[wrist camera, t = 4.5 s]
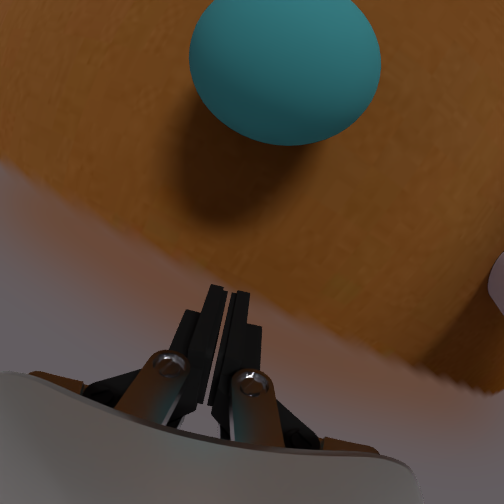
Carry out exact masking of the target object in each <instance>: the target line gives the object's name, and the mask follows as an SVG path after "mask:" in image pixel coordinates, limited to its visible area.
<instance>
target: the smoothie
mask: <svg viewBox="0 0 504 504" xmlns="http://www.w3.org/2000/svg"><path fill="white" fill-rule="evenodd" d="M488 292H489V295H490V296H491V298H492V299H493V301H494V302H495V303H496V305H497V306H498V308H499V309H500V311H501V312H502V314H503V315H504V252H503V253H502V254H501V255H500V256H499V258H498V259H497V260H496V262H495V264H494V266H493V268H492V270H491V273H490V276H489V280H488Z"/></svg>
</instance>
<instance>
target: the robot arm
mask: <svg viewBox="0 0 504 504" xmlns="http://www.w3.org/2000/svg"><path fill="white" fill-rule="evenodd" d="M223 288H224V287H221V286H217V285H213V284H211V286H210V288H209V291H208V294H207V297H206V300H205V303H204V306H203V308H202V311H201V313H199V312H195V311H191V310H186V311H185V313H184V315H183V317H182V320H181V322H180V324H179V327H178V329H177V331H176V334H175V336H174V339H173V341H172V344H171V346H170V348H169V350H162V351H158V352H156V353H154V354H153V355H152V356H151V357H150V358H149V360H148V361H147V362H146V364H145V365H144V367H143V368H142V369H139V370H136V371H133V372H129V373H126V374H123V375H119V376H116V377H113V378H109V379H105V380H102V381H98V382H95V383H92V384H91V385H85V384H84V383H83V381H78V380H73V379H69V378H65V377H60V376H57V375H52V374H49V373H45V372H41V371H34V372H30V373H29V374H24V373H18V372H12V371H3V372H0V504H425V503H424V498H423V495H422V492H421V488H420V486H419V483H418V481H417V479H416V476H415V474H414V473H413V471H412V470H411V469H410V467H409V466H407V465H406V464H405V463H403V462H401V461H399V460H396V459H394V458H391V457H387V456H384V455H380V454H379V452H378V451H377V450H376V449H374V448H373V447H370V446H366V445H361V444H356V443H351V442H346V441H342V440H337V439H333V438H328V437H325V438H323V439H322V438H318V437H317V436H316V435H315V433H314V432H313V431H312V430H310V429H309V428H308V427H307V426H306V425H305V424H304V423H302V422H301V421H300V420H299V419H298V418H297V417H295V416H294V415H293V414H292V413H291V412H290V411H289V410H287V408H285V407H284V406H283V405H282V404H281V403H280V402H279V401H278V400H277V399H276V397H275V391H274V386H273V383H272V381H271V379H270V378H269V377H268V376H267V375H266V374H265V373H263V372H261V371H260V358H261V339H262V327H261V326H257V325H251V324H247V316H248V307H249V299H250V293H248V292H243V291H239V290H238V291H237V293H232V294H231V299H230V303H229V307H228V312H227V316H226V321H225V325H224V330H223V335H222V339H221V343H220V348H219V352H218V357H217V361H216V366H215V371H214V376H213V380H212V385H211V390H210V395H209V399H208V404H207V405H208V406H212V411H211V414H212V416H213V417H214V418H215V419H216V421H217V422H218V438H214V437H209V436H205V435H200V434H195V433H191V432H187V431H183V430H179V429H180V427H181V425H182V422H183V420H184V417H185V415H186V414H189V413H191V412H193V411H195V410H196V407H197V403H200V404H203V401H204V396H205V392H206V388H207V383H208V379H209V374H210V370H211V366H212V361H213V357H214V353H215V349H216V344H217V339H218V335H219V330H220V326H221V321H222V316H223V312H224V307H225V302H226V298H227V293H228V291H224V290H223Z"/></svg>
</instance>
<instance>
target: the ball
mask: <svg viewBox="0 0 504 504" xmlns="http://www.w3.org/2000/svg"><path fill="white" fill-rule="evenodd" d="M189 63H190V71H191V75H192V79H193V82H194V85H195V87H196V90H197V92H198V94H199V96H200V97H201V99H202V101H203V102H204V104H205V105H206V106H207V108H208V109H209V110H210V111H211V113H213V114H214V115H215V116H216V117H217V118H218V119H219V120H220V121H221V122H223V123H224V124H225V125H227V126H228V127H229V128H231V129H232V130H234V131H236V132H238V133H239V134H241V135H243V136H246V137H248V138H250V139H253V140H256V141H260V142H263V143H268V144H274V145H286V146H292V145H304V144H309V143H315V142H318V141H321V140H325V139H327V138H330V137H332V136H334V135H336V134H338V133H340V132H341V131H343V130H345V129H346V128H348V127H349V126H350V125H351V124H352V123H354V122H355V121H356V120H357V119H358V118H359V117H360V116H361V114H362V113H363V112H364V111H365V110H366V108H367V107H368V105H369V104H370V102H371V101H372V99H373V97H374V94H375V92H376V89H377V86H378V83H379V78H380V70H381V56H380V50H379V45H378V42H377V39H376V36H375V33H374V31H373V29H372V27H371V25H370V23H369V22H368V20H367V19H366V17H365V16H364V14H363V13H362V12H361V11H360V9H359V8H358V7H357V6H356V5H355V4H354V3H353V2H352V1H350V0H214V1H213V2H212V3H211V4H210V5H209V6H208V8H207V9H206V10H205V11H204V13H203V14H202V16H201V17H200V19H199V21H198V23H197V24H196V27H195V30H194V32H193V35H192V39H191V44H190V50H189Z"/></svg>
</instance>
